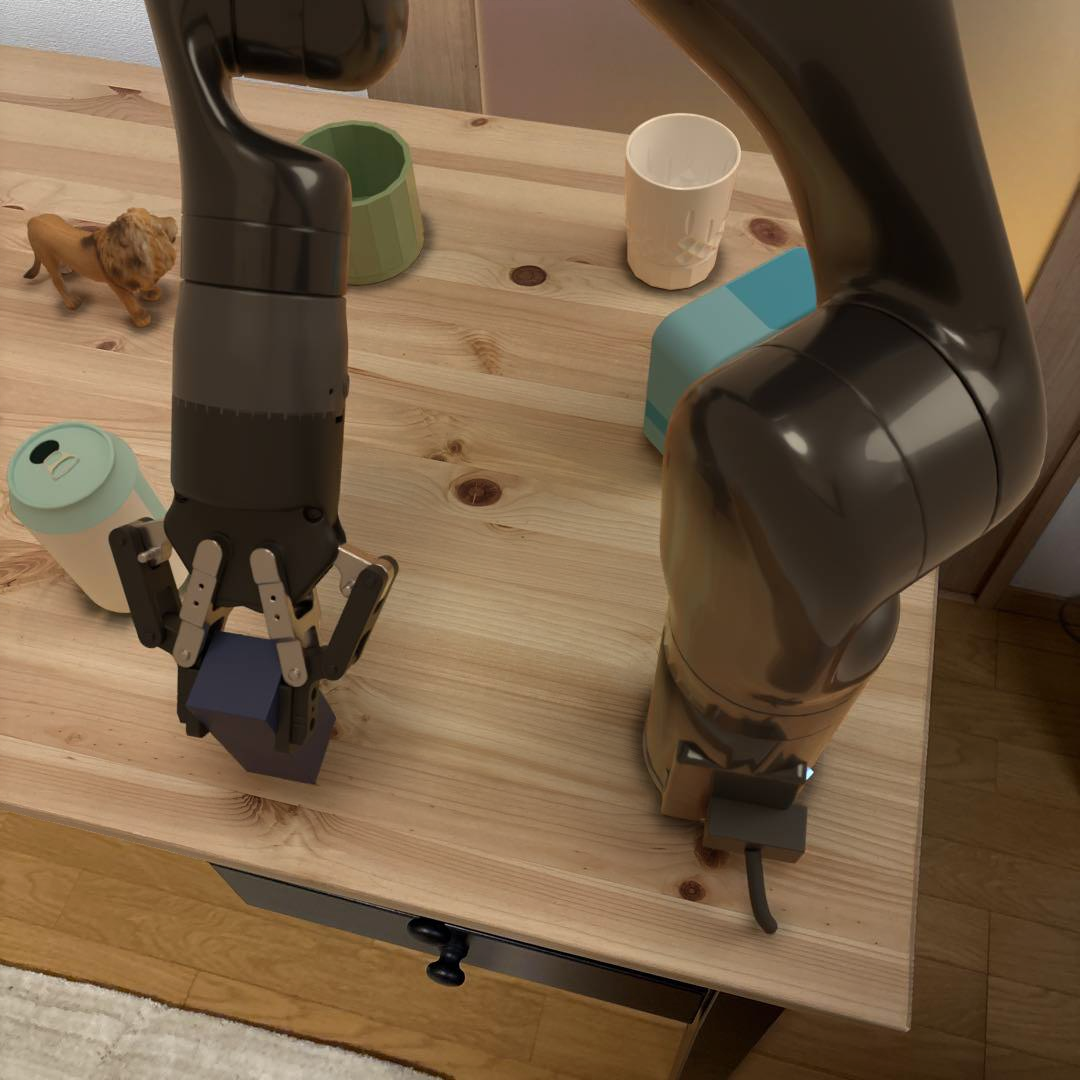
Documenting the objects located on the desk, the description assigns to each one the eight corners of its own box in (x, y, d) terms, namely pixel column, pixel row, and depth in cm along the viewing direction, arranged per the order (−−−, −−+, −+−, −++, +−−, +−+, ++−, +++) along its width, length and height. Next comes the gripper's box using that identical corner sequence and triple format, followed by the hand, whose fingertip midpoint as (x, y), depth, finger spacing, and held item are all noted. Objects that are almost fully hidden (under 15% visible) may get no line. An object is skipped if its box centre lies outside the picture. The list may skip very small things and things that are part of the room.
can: (74, 617, 63) (-24, 517, 53) (100, 522, 66) (13, 411, 56) (185, 617, 63) (109, 516, 52) (205, 521, 66) (137, 409, 56)
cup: (406, 291, 76) (391, 214, 70) (289, 277, 77) (263, 199, 71) (436, 207, 81) (424, 127, 74) (325, 194, 82) (304, 114, 75)
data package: (680, 487, 66) (699, 370, 56) (639, 442, 68) (651, 320, 58) (817, 405, 70) (860, 280, 59) (775, 364, 72) (809, 236, 61)
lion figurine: (215, 286, 77) (175, 192, 69) (188, 337, 75) (143, 246, 67) (42, 259, 79) (-15, 165, 71) (10, 308, 77) (-54, 216, 69)
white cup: (622, 220, 79) (628, 110, 71) (722, 224, 79) (740, 114, 70) (616, 294, 75) (622, 186, 67) (722, 299, 75) (741, 191, 66)
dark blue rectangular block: (315, 785, 55) (265, 720, 46) (246, 772, 55) (184, 705, 47) (337, 717, 57) (292, 642, 48) (270, 705, 57) (214, 629, 49)
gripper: (63, 378, 42) (67, 747, 47) (387, 423, 40) (359, 803, 45) (157, 365, 49) (153, 686, 54) (436, 403, 48) (407, 732, 52)
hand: (247, 737), depth 49 cm, fingers closed on dark blue rectangular block, 4 cm apart
